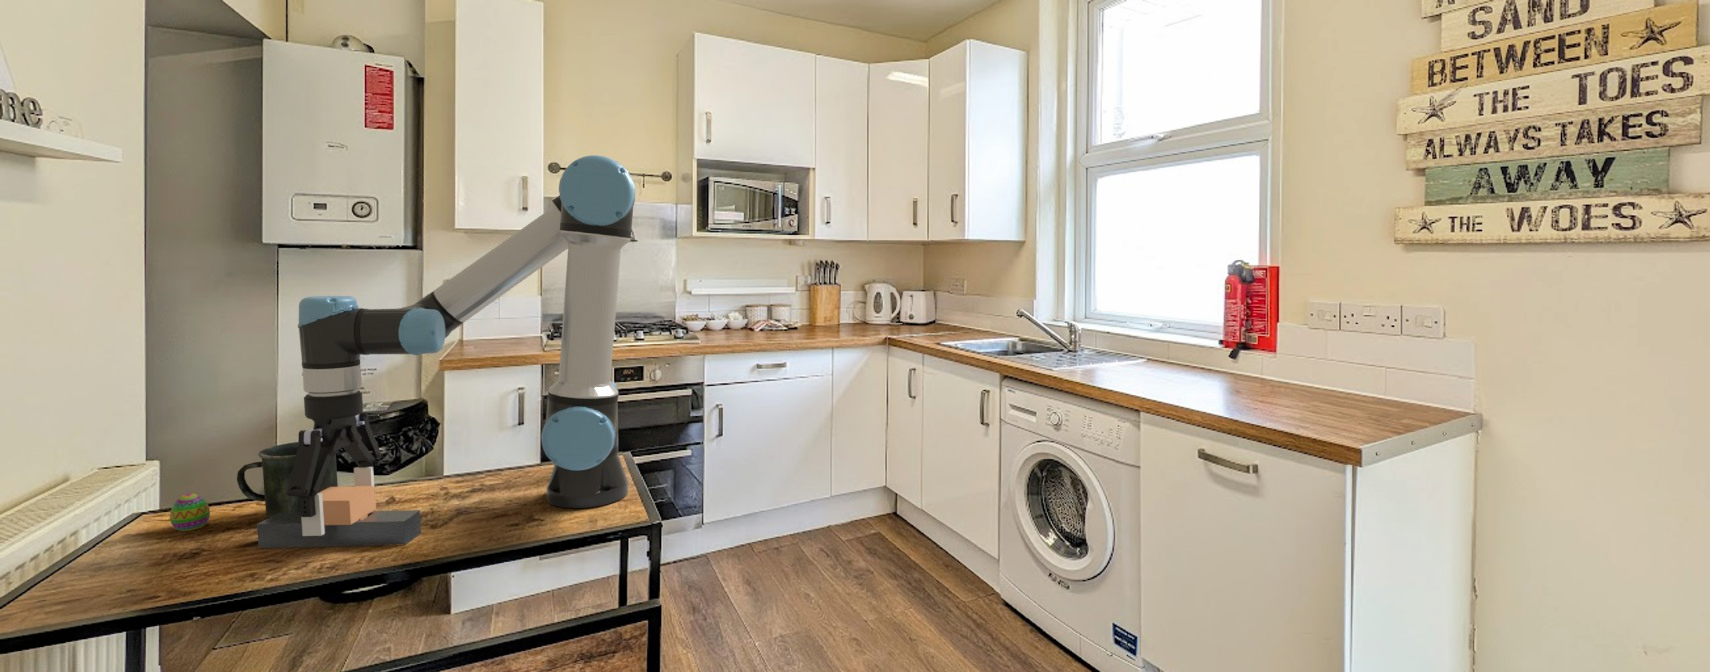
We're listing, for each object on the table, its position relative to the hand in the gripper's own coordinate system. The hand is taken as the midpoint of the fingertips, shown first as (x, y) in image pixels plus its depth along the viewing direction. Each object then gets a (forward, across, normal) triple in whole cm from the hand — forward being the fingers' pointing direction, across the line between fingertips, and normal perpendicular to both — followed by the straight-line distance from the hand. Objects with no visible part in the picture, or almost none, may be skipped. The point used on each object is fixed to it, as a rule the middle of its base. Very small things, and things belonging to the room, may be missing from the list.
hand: (341, 518), depth 113 cm
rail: (+4, 0, 0) cm, 4 cm away
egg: (+4, -7, -28) cm, 29 cm away
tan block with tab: (+3, 0, 0) cm, 3 cm away
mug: (+4, -13, -16) cm, 21 cm away
